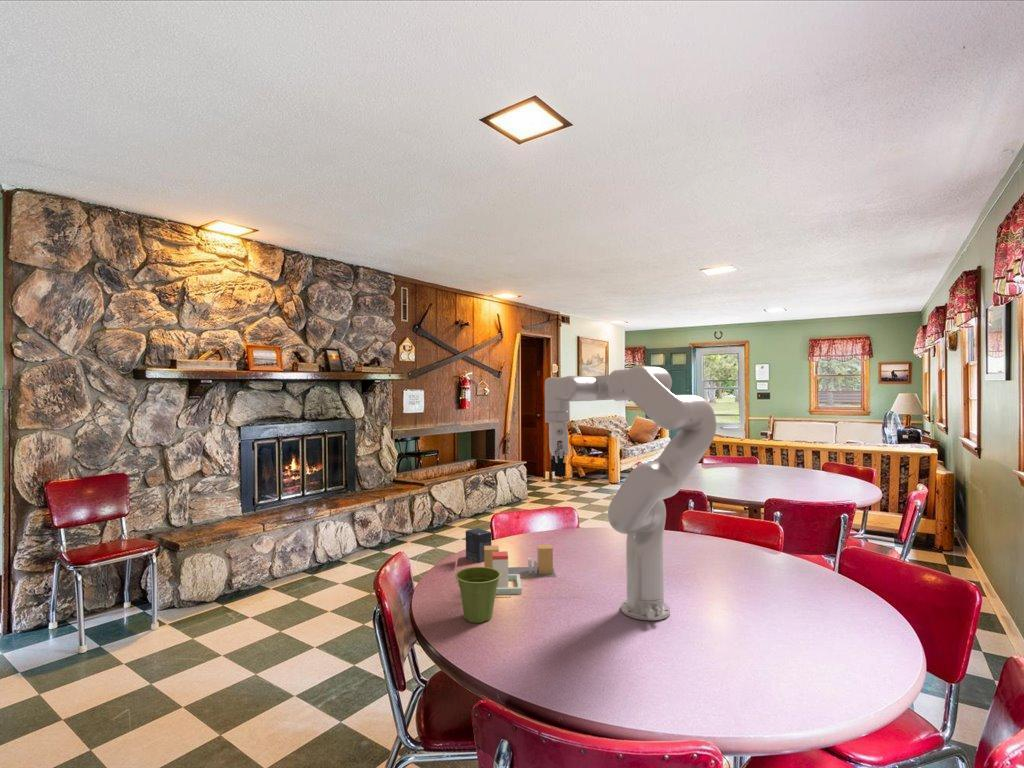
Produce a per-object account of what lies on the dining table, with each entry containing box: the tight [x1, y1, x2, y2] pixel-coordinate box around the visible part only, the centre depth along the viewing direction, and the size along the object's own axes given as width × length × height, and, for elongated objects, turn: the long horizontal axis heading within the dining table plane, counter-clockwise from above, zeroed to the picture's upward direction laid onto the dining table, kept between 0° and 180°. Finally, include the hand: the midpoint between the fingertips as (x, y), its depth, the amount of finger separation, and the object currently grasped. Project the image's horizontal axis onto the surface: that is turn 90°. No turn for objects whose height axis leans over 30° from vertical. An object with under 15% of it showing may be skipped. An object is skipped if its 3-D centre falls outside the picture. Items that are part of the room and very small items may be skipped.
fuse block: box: [483, 543, 557, 579], centre depth 170 cm, size 10×23×9 cm, turn 92°
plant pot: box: [455, 566, 501, 624], centre depth 138 cm, size 12×12×11 cm
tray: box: [495, 574, 523, 599], centre depth 157 cm, size 12×12×2 cm
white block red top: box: [492, 550, 509, 588], centre depth 158 cm, size 4×4×10 cm
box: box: [465, 527, 492, 564], centre depth 184 cm, size 8×6×11 cm
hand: (558, 473), depth 163 cm, fingers open, 9 cm apart
